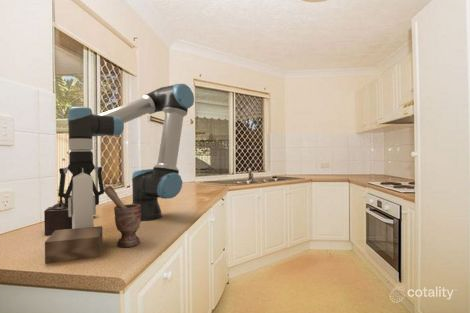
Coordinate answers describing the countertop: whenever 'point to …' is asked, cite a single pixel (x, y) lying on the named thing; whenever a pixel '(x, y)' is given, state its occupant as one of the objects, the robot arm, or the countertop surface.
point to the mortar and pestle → (125, 219)
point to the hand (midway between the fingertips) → (82, 215)
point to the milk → (82, 201)
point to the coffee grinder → (57, 218)
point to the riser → (73, 244)
